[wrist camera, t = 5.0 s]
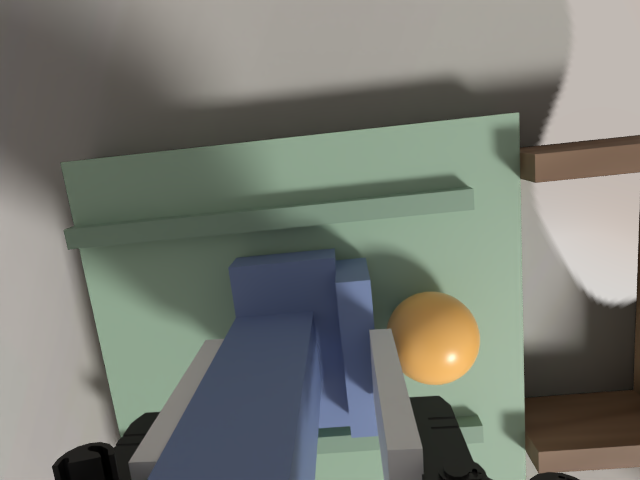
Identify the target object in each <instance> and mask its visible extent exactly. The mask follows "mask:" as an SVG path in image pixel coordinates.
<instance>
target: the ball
mask: <svg viewBox="0 0 640 480" xmlns="http://www.w3.org/2000/svg"><path fill="white" fill-rule="evenodd" d="M387 329H391V330H392V334H393V338H394V341H395V345H396V349H397V353H398V357H399V360H400V364H401V368H402V372H403V373H404V374H405V375H406V376H408V377H409V378H411V379H413V380H415V381H417V382H420V383H423V384H428V385H442V384H447V383H450V382H453V381H455V380H457V379H459V378H460V377H462V376H463V375H464V374H465V373H467V372H468V371H469V369H470V368H471V367H472V365H473V364H474V362H475V360H476V358H477V355H478V352H479V348H480V333H479V329H478V325H477V322H476V320H475V318H474V316H473V315H472V313H471V312H470V310H469V309H468V308H467V307H466V306H465V305H464V304H463V303H462V302H460V301H459V300H458V299H456V298H454V297H452V296H450V295H448V294H445V293H441V292H432V291H430V292H422V293H417V294H415V295H412V296H410V297H408V298H407V299H405V300H403V301H402V302H401V303H400V304H399V305H398V306H397V307H396V308H395V310H394V311H393V313H392V314H391V316H390V318H389V321H388V324H387Z"/></svg>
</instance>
